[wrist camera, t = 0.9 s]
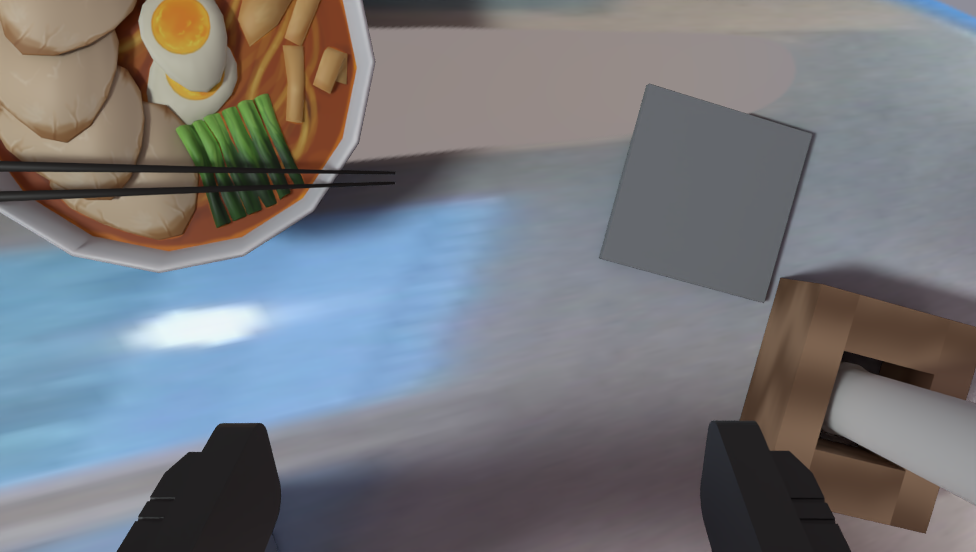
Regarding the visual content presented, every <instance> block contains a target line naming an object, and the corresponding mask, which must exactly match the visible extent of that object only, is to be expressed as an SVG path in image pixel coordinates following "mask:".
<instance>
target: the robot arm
mask: <svg viewBox="0 0 976 552" xmlns="http://www.w3.org/2000/svg"><path fill="white" fill-rule="evenodd" d="M150 498H151V499H150V501H147V503H146V505H145V506H144V508H143V509H142V511H141V513H140V514H139V516H138V521H135V523H134V524H133V526H132V527H131V529H130V531H129V532H128V534H127V536H126V537H125V539H124V540H123V542H122V544H121V545H120V547H119V549H118V550H117V552H278V550H277V545H276V542H275V540H274V537H273V535H272V531H273V529H274V526H275V524H276V521H277V518H278V515H279V510H280V503H281V487H280V481H279V477H278V473H277V469H276V465H275V461H274V457H273V453H272V449H271V445H270V441H269V437H268V433H267V430H266V428H265V426H264V425H263V424H262V423H221V424H219V425H218V426H217V427H216V428H215V430H214V431H213V433H212V435H211V436H210V438H209V440H208V442H207V443H206V445H205V447H204V449H203V450H202V452H188V453H187V454H186V455H185V456H184V457H183V458H181V459H180V460H179V461H178V462H177V463H176V464H175V465H173V466H172V467H171V468H170V469H169V470H168V471H167V472H165V474H164V475H163V477H162V479H161V480H160V482H159V483H158V485H157V487H156V488H155V490H154V492H153V493H152V495H151V496H150ZM700 498H701V509H702V515H703V520H704V524H705V527H706V531H707V534H708V538H709V542H710V545H711V549H712V552H851V550H850V548H849V546H848V544H847V542H846V540H845V538H844V536H843V534H842V532H841V530H840V528H839V526H838V524H835V518H834V516H833V514H832V512H831V510H830V508H829V506H828V503H825V497H824V495H823V493H822V491H821V489H820V487H819V485H818V483H817V481H816V479H815V477H814V475H813V473H812V472H811V471H810V470H809V469H808V468H807V467H806V466H805V465H804V464H803V463H802V462H801V461H800V460H799V459H798V458H796V457H795V456H794V455H793V454H792V453H791V452H790V451H770V450H769V447H768V445H767V443H766V440H765V438H764V436H763V434H762V431H761V429H760V427H759V425H758V423H757V422H756V421H711V422H710V424H709V428H708V435H707V442H706V449H705V456H704V463H703V471H702V478H701V487H700Z"/></svg>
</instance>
